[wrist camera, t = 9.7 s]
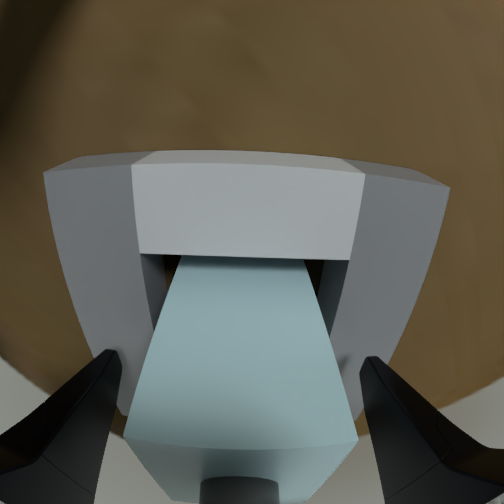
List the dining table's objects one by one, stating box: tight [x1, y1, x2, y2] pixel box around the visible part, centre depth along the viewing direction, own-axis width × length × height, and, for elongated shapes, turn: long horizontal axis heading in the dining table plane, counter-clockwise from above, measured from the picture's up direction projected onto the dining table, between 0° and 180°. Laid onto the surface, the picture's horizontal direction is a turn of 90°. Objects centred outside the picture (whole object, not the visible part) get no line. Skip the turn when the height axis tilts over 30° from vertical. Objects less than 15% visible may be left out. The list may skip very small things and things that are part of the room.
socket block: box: [43, 150, 450, 421], centre depth 12 cm, size 13×13×2 cm
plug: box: [123, 255, 358, 504], centre depth 9 cm, size 4×6×10 cm
